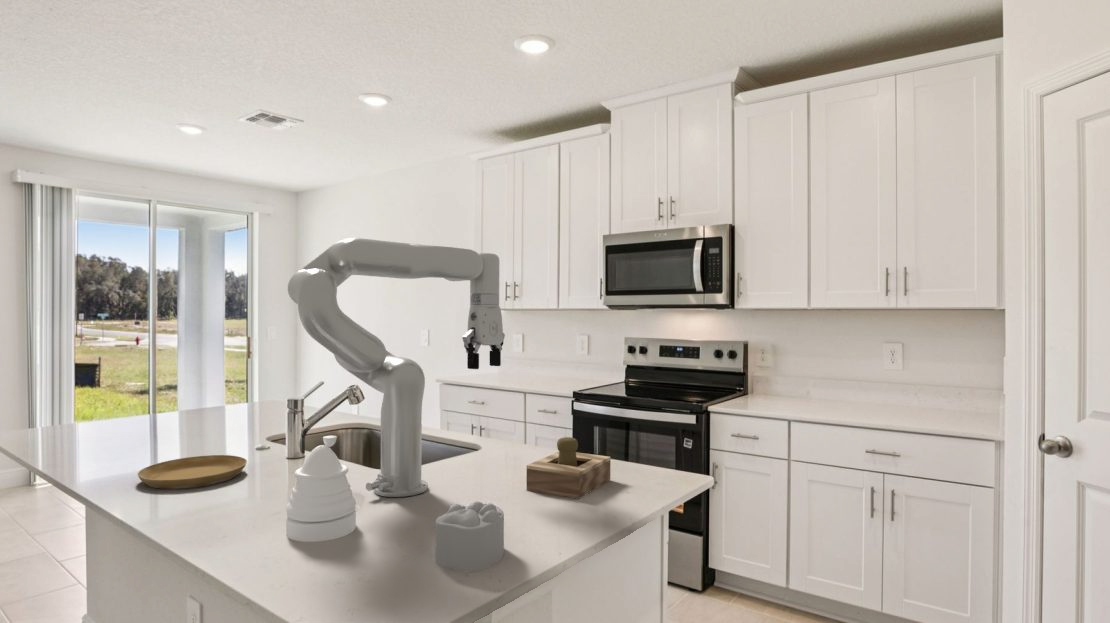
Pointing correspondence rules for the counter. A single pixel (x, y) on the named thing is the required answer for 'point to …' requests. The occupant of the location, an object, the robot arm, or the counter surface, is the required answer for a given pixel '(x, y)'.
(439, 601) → the counter surface
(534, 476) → the drop box
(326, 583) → the counter surface
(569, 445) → the cork
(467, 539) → the lumpy-topped squat cylinder
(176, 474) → the plant saucer
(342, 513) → the honey pot
